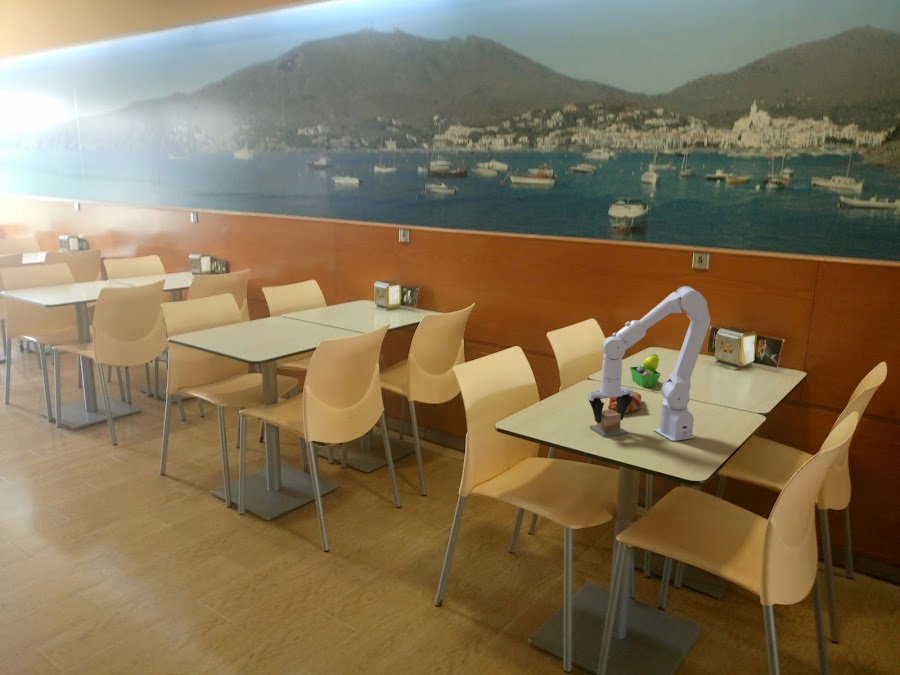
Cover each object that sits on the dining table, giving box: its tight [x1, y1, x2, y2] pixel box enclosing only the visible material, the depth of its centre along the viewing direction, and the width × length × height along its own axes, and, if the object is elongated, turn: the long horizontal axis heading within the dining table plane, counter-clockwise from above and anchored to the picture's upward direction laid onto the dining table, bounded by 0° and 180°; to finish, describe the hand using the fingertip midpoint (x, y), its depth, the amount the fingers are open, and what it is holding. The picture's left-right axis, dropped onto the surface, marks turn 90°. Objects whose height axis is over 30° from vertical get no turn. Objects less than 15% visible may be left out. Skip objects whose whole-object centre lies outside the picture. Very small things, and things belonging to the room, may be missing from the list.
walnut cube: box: [595, 409, 622, 432], centre depth 206 cm, size 5×5×5 cm
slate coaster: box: [589, 424, 628, 438], centre depth 207 cm, size 8×8×1 cm
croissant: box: [607, 391, 642, 415], centre depth 227 cm, size 21×10×8 cm, turn 142°
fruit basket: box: [629, 353, 662, 388], centre depth 253 cm, size 11×9×11 cm
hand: (608, 420), depth 206 cm, fingers open, 7 cm apart
